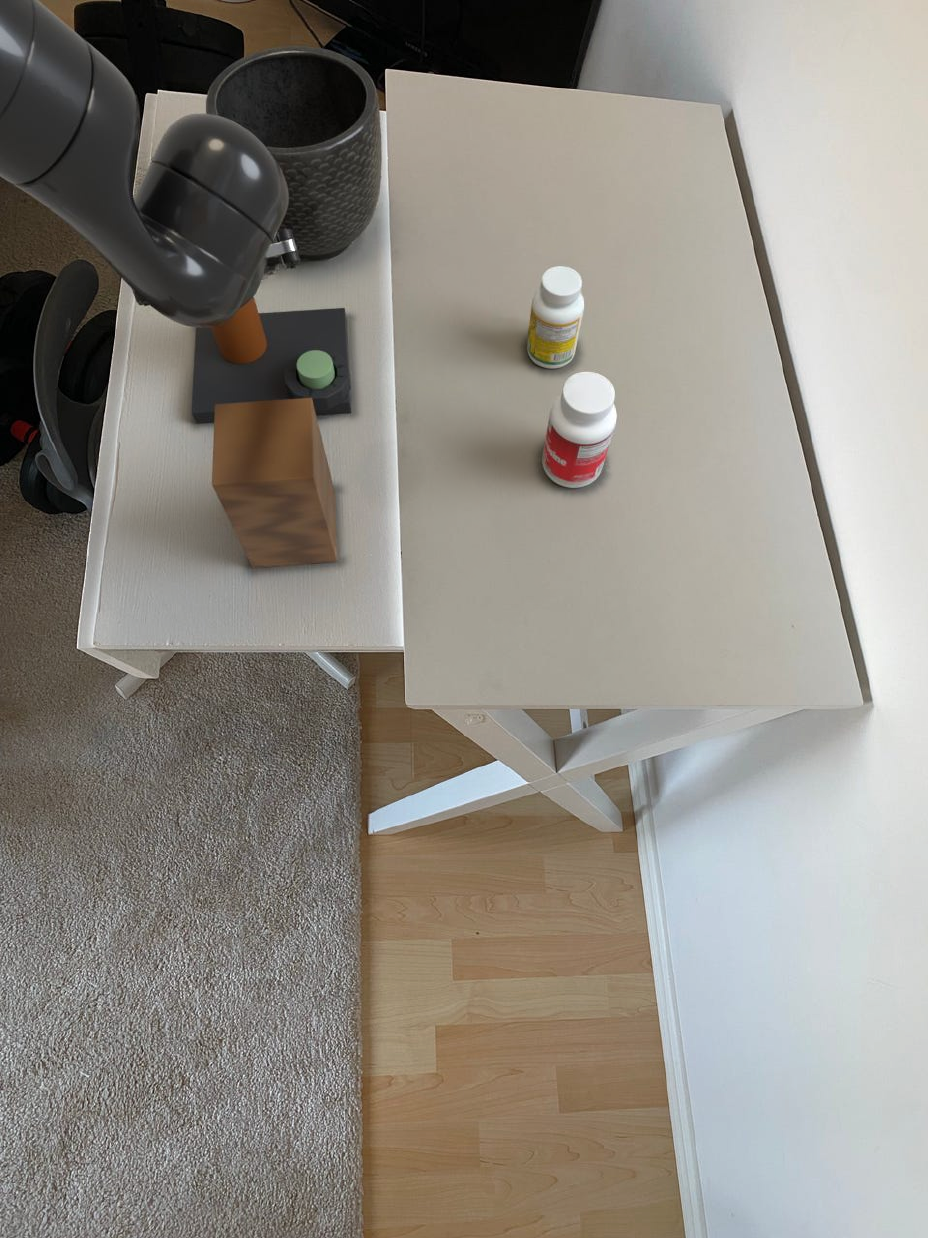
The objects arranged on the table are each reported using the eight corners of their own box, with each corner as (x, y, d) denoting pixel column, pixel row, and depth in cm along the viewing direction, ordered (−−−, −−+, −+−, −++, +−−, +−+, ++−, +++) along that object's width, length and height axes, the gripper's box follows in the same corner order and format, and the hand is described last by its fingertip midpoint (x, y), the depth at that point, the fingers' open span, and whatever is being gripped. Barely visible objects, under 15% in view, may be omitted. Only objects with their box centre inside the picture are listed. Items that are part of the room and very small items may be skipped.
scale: (195, 429, 81) (185, 407, 78) (200, 328, 87) (191, 303, 83) (353, 418, 82) (349, 396, 79) (348, 318, 87) (344, 294, 84)
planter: (363, 301, 89) (346, 169, 74) (220, 271, 90) (175, 135, 76) (407, 199, 95) (399, 60, 81) (274, 173, 97) (242, 31, 82)
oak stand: (252, 568, 75) (211, 485, 62) (253, 497, 78) (214, 403, 65) (337, 561, 75) (313, 477, 62) (334, 491, 78) (311, 397, 65)
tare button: (299, 390, 79) (296, 378, 78) (299, 363, 81) (296, 350, 79) (335, 388, 80) (333, 376, 78) (334, 360, 81) (332, 348, 79)
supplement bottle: (562, 377, 84) (575, 308, 76) (517, 358, 85) (525, 288, 77) (583, 343, 86) (597, 272, 78) (539, 325, 87) (548, 253, 79)
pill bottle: (534, 446, 81) (545, 370, 71) (591, 434, 81) (610, 358, 71) (551, 495, 78) (566, 425, 68) (610, 483, 79) (633, 412, 69)
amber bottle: (218, 365, 82) (189, 290, 73) (220, 329, 84) (192, 251, 75) (267, 362, 83) (243, 286, 74) (267, 326, 85) (244, 248, 76)
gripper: (288, 178, 58) (278, 213, 73) (94, 224, 56) (124, 250, 71) (320, 285, 61) (304, 298, 76) (136, 333, 59) (156, 336, 73)
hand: (217, 275), depth 73 cm, fingers open, 8 cm apart
